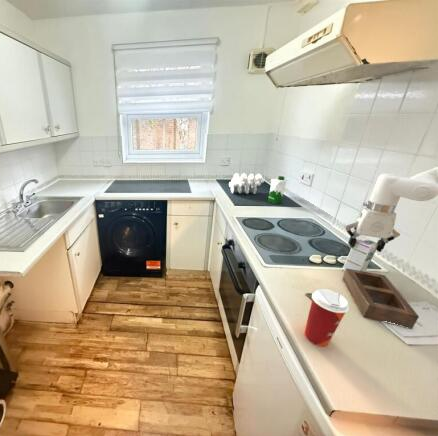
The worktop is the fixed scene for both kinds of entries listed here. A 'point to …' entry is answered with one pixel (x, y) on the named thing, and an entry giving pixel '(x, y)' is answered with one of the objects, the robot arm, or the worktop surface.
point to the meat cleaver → (309, 295)
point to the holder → (379, 298)
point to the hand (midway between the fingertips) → (364, 248)
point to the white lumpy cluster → (246, 182)
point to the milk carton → (276, 190)
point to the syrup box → (360, 255)
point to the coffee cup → (324, 316)
